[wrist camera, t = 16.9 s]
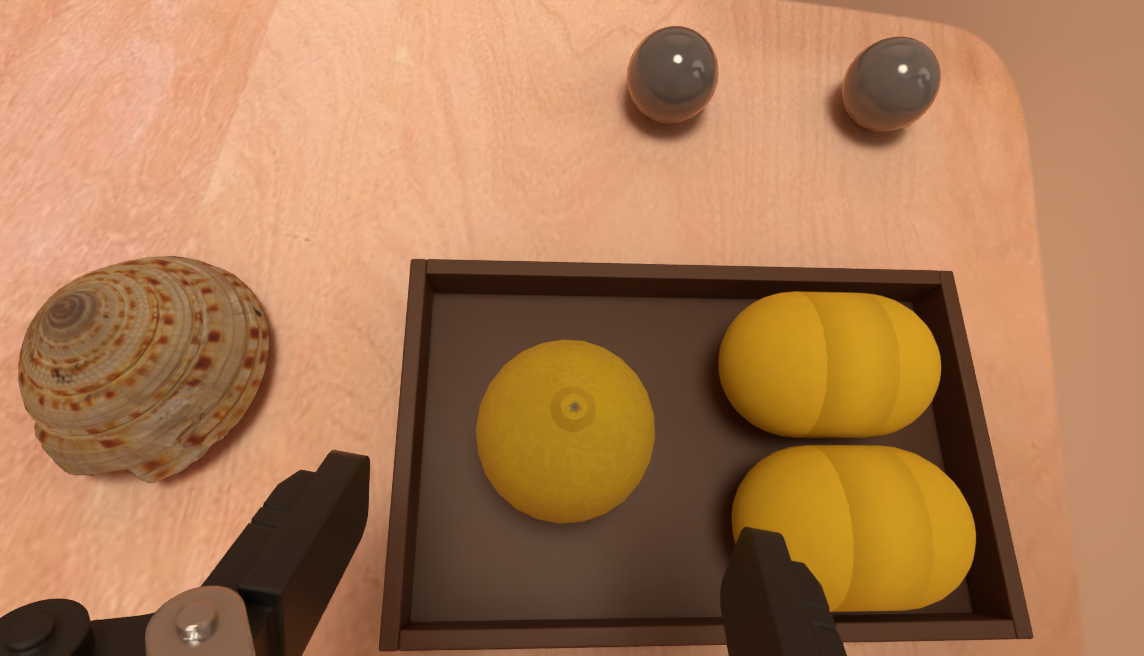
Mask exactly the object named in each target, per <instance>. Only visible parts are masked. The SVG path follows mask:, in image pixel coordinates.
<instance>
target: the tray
mask: <svg viewBox="0 0 1144 656" xmlns="http://www.w3.org/2000/svg"><path fill="white" fill-rule="evenodd" d="M785 292H841V293H866V294H874V295H879V296H883V297H886V298H889V299H892V300H895V301H897V302H899V303H900V304H902V305H904V306H905V307H907V308H908V309H910V310H912V311H913V312H914V313H915V314H916V315H917V316H918V317H919V318H920V319H921V320H922V321H923V322H924V323H925V324H926V325H927V327H928V328H929V330H930V331H931V333H932V335H933V337H934V339H935V342H936V344H937V346H938V349H939V353H940V359H941V376H940V381H939V385H938V388H937V391H936V393H935V395H934V398H933V400H932V402H931V403H930V405H929V406H928V407H927V409H926V410H925V411H924V412H923V413H922V414H921V415H920V416H919V417H918V418H917V419H916V420H915V421H914V422H912V423H910V424H909V425H907V426H906V427H904V428H902V429H900V430H898V431H896V432H893V433H890V434H887V435H884V436H877V437H868V438H792V437H783V436H779V435H776V434H772V433H769V432H766V431H764V430H762V429H760V428H758V427H756V426H754V425H753V424H751V423H750V422H748V421H747V420H746V419H745V418H744V417H743V416H742V415H740V414H739V413H738V412H737V411H736V409H735V408H734V407H733V405H732V404H731V403H730V401H729V400H728V398H727V396H726V394H725V391H724V389H723V387H722V384H721V381H720V376H719V350H720V346H721V342H722V340H723V338H724V335H725V333H726V331H727V329H728V327H729V326H730V325H731V323H732V322H733V321H734V319H735V318H736V317H737V315H738V314H740V313H741V312H742V311H743V310H744V309H746V308H747V307H748V306H749V305H751V304H752V303H754V302H756V301H758V300H760V299H762V298H764V297H767V296H771V295H774V294H778V293H785ZM558 340H576V341H585V342H588V343H591V344H594V345H597V346H600V347H603V348H605V349H607V350H608V351H610V352H611V353H613V354H615V355H616V356H618V357H620V358H621V359H622V360H623V361H624V362H625V363H626V364H627V365H628V366H629V367H630V368H631V369H632V370H633V371H634V372H635V373H636V374H637V376H638V378H639V379H640V381H641V383H642V384H643V386H644V388H645V389H646V391H647V393H648V397H649V400H650V403H651V407H652V410H653V413H654V426H655V441H654V446H653V450H652V455H651V460H650V463H649V465H648V467H647V469H646V471H645V473H644V475H643V477H642V479H641V481H640V483H639V484H638V485H637V487H636V488H635V489H634V490H633V491H632V492H631V494H630V495H629V496H628V497H627V498H626V499H625V501H623V502H622V503H620V504H619V505H618V506H616V507H615V508H613V509H612V510H610V511H609V512H607V513H606V514H604V515H601V516H598V517H595V518H593V519H590V520H587V521H584V522H575V523H562V524H558V523H553V522H548V521H543V520H538V519H535V518H533V517H531V516H529V515H527V514H525V513H523V512H521V511H519V510H517V509H515V508H514V507H513V506H512V505H511V504H510V503H509V502H507V501H506V500H505V499H504V498H503V497H502V496H500V495H499V494H498V492H497V491H496V489H495V488H494V486H493V485H492V484H491V482H490V481H489V479H488V478H487V476H486V475H485V472H484V469H483V466H482V463H481V460H480V457H479V454H478V448H477V437H476V425H477V419H478V413H479V407H480V404H481V402H482V399H483V397H484V395H485V393H486V391H487V388H488V386H489V384H490V383H491V381H492V380H493V379H494V378H495V376H496V375H497V374H498V373H499V371H500V370H501V369H502V367H503V366H504V365H505V364H507V363H508V362H509V361H511V360H512V359H513V358H514V357H516V356H517V355H518V354H520V353H521V352H522V351H525V350H527V349H529V348H532V347H534V346H536V345H539V344H541V343H546V342H552V341H558ZM805 445H879V446H889V447H895V448H899V449H902V450H905V451H908V452H912V453H915V454H917V455H919V456H920V457H922V458H924V459H926V460H928V461H929V462H931V463H933V464H934V465H936V466H937V467H938V468H939V469H940V470H942V471H943V472H944V473H945V474H946V475H947V476H948V477H949V478H950V479H951V480H952V481H953V482H954V483H955V484H956V486H957V487H958V488H959V489H960V491H961V493H962V495H963V496H964V498H965V500H966V502H967V504H968V506H969V508H970V510H971V513H972V516H973V520H974V523H975V531H976V545H975V552H974V558H973V561H972V564H971V567H970V569H969V571H968V573H967V574H966V576H965V577H964V579H963V580H962V582H961V583H960V585H959V586H958V587H957V588H956V589H955V590H954V591H953V592H951V593H950V594H949V595H947V596H946V597H945V598H944V599H942V600H940V601H937V602H935V603H933V604H930V605H927V606H925V607H922V608H919V609H911V610H903V611H849V612H831V613H832V616H833V618H834V621H835V624H836V631H837V632H839V635H840V638H841V640H842V643H843V642H894V641H946V640H997V639H1032V638H1033V633H1032V628H1031V624H1030V619H1029V615H1028V610H1027V605H1026V601H1025V596H1024V592H1023V587H1022V583H1021V578H1020V574H1019V569H1018V565H1017V560H1016V556H1015V551H1014V547H1013V542H1012V538H1011V533H1010V529H1009V524H1008V520H1007V515H1006V511H1005V506H1004V502H1003V497H1002V493H1001V488H1000V483H999V479H998V474H997V470H996V465H995V461H994V456H993V452H992V447H991V443H990V438H989V434H988V429H987V425H986V420H985V416H984V411H983V407H982V402H981V398H980V393H979V389H978V384H977V380H976V375H975V370H974V366H973V361H972V357H971V352H970V348H969V343H968V339H967V334H966V330H965V325H964V321H963V316H962V312H961V307H960V303H959V298H958V294H957V289H956V285H955V280H954V276H953V272H952V271H934V270H889V269H845V268H800V267H755V266H710V265H665V264H620V263H575V262H530V261H486V260H441V259H428V260H425V259H412V260H411V266H410V278H409V290H408V302H407V314H406V326H405V338H404V350H403V362H402V374H401V386H400V398H399V410H398V422H397V434H396V447H395V459H394V471H393V483H392V495H391V507H390V519H389V531H388V543H387V555H386V567H385V579H384V591H383V603H382V615H381V627H380V639H379V651H381V652H382V651H397V650H399V651H433V650H484V649H536V648H587V647H638V646H689V645H727V642H726V636H725V631H724V625H723V619H722V613H721V607H720V590H721V583H722V579H723V576H724V573H725V571H726V568H727V565H728V563H729V560H730V558H731V555H732V553H733V550H734V547H735V541H734V536H733V530H732V507H733V502H734V499H735V496H736V493H737V490H738V487H739V485H740V484H741V482H742V480H743V479H744V477H745V476H746V474H747V473H748V472H749V470H750V469H751V468H752V467H754V466H755V465H756V464H757V463H758V462H759V461H760V460H762V459H764V458H765V457H767V456H769V455H770V454H772V453H774V452H776V451H779V450H782V449H785V448H788V447H796V446H805Z"/></svg>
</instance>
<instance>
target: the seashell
mask: <svg viewBox="0 0 1144 656" xmlns="http://www.w3.org/2000/svg"><path fill="white" fill-rule="evenodd" d="M268 350H269V332H268V325H267V322H266V319H265V316H264V313H263V310H262V307H261V305H260V303H259V301H258V299H257V298H256V296H255V295H254V293H253V292H252V291H251V290H250V289H249V288H248V287H247V286H246V285H245V284H244V283H243V282H242V281H241V280H240V279H238V278H237V277H236V276H235V275H233V274H232V273H230V272H228V271H226V270H223V269H221V268H218V267H215V266H212V265H210V264H207V263H204V262H202V261H199V260H194V259H189V258H183V257H176V256H166V257H150V258H143V259H137V260H129V261H126V262H122V263H118V264H115V265H111V266H108V267H105V268H101V269H98V270H95V271H92V272H90V273H88V274H85V275H83V276H81V277H79V278H77V279H75V280H73V281H72V282H70V283H68V284H67V285H65V286H64V287H62V288H61V289H59V290H58V291H57V292H56V293H55V294H53V295H52V296H51V297H50V298H49V299H48V300H47V301H46V302H45V303H44V305H43V306H42V307H41V309H40V310H39V311H38V313H37V314H36V316H35V317H34V319H33V320H32V322H31V323H30V325H29V327H28V329H27V332H26V334H25V337H24V341H23V344H22V348H21V352H20V358H19V364H18V382H19V387H20V391H21V395H22V398H23V401H24V405H25V409H26V410H27V412H28V413H29V414H30V416H31V417H32V418H33V419H34V421H35V426H34V427H35V435H36V438H37V439H38V440H39V441H40V442H41V444H42V448H43V449H44V450H45V451H46V453H47V454H48V455H49V456H50V457H51V458H52V459H53V460H54V461H55V463H56V464H57V465H58V466H59V467H60V468H62V469H63V470H64V471H65V472H67V473H69V474H72V475H91V476H92V475H95V474H99V473H104V472H114V471H120V470H126V469H127V470H128V471H129V472H131V473H132V474H134V475H135V476H136V477H138V478H140V479H141V480H143V481H145V482H148V483H155V482H157V481H159V480H162V479H164V478H167V477H169V476H171V475H174V474H176V473H179V472H181V471H182V470H184V469H186V468H187V467H188V466H189V465H190V464H191V463H193V462H195V461H197V460H198V459H200V458H201V457H202V456H203V455H204V454H205V453H206V452H207V450H208V449H209V448H210V446H211V445H212V444H213V443H215V442H217V441H219V440H221V439H224V436H225V435H227V434H228V433H229V429H231V428H232V427H234V426H235V425H236V424H237V423H238V422H239V421H240V419H241V418H242V416H243V415H244V413H245V412H246V410H247V409H248V407H249V406H250V404H251V403H252V401H253V399H254V397H255V395H256V393H257V390H258V388H259V386H260V383H261V381H262V378H263V375H264V372H265V368H266V364H267V359H268ZM218 437H220V438H219V439H218Z"/></svg>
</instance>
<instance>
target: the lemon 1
mask: <svg viewBox="0 0 1144 656" xmlns="http://www.w3.org/2000/svg"><path fill="white" fill-rule="evenodd" d="M476 437H477V448H478V454H479V457H480V460H481V463H482V466H483V469H484V472H485V475H486V476H487V478H488V479H489V481H490V482H491V484H492V485H493V486H494V488H495V489H496V491H497V492H498V494H499V495H500V496H502V497H503V498H504V499H505V500H506V501H507V502H509V503H510V504H511V505H512V506H513V507H514V508H515V509H517V510H519V511H521V512H523V513H525V514H527V515H529V516H531V517H533V518H535V519H538V520H543V521H548V522H553V523H558V524H562V523H575V522H584V521H587V520H590V519H593V518H595V517H598V516H601V515H604V514H606V513H607V512H609V511H610V510H612V509H613V508H615V507H616V506H618V505H619V504H620V503H622V502H623V501H625V499H626V498H627V497H628V496H629V495H630V494H631V492H632V491H633V490H634V489H635V488H636V487H637V485H638V484H639V483H640V481H641V479H642V477H643V475H644V473H645V471H646V469H647V467H648V465H649V463H650V460H651V455H652V450H653V446H654V441H655V426H654V413H653V410H652V407H651V403H650V400H649V397H648V393H647V391H646V389H645V388H644V386H643V384H642V383H641V381H640V379H639V378H638V376H637V374H636V373H635V372H634V371H633V370H632V369H631V368H630V367H629V366H628V365H627V364H626V363H625V362H624V361H623V360H622V359H621V358H620V357H618V356H616V355H615V354H613V353H611V352H610V351H608V350H607V349H605V348H603V347H600V346H597V345H594V344H591V343H588V342H585V341H576V340H558V341H552V342H546V343H541V344H539V345H536V346H534V347H532V348H529V349H527V350H525V351H522V352H521V353H520V354H518V355H517V356H516V357H514V358H513V359H512V360H511V361H509V362H508V363H507V364H505V365H504V366H503V367H502V369H501V370H500V371H499V373H498V374H497V375H496V376H495V378H494V379H493V380H492V381H491V383H490V384H489V386H488V388H487V391H486V393H485V395H484V397H483V399H482V402H481V404H480V407H479V413H478V419H477V425H476Z"/></svg>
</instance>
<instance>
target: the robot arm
mask: <svg viewBox="0 0 1144 656" xmlns="http://www.w3.org/2000/svg"><path fill="white" fill-rule="evenodd" d="M369 479H370V459H369V457H368V456H365V455H359V454H354V453H348V452H343V451H337V450H332V451H331V452H330V453H329V454H328V455H327V457H326V458H325V459H324V461H323V462H322V464H321V465H320V467H319V468H318V470H317V471H316V472H311V471H305V470H299V471H298V472H296V473H295V474H293V475H292V476H290V477H289V478H287V479H286V480H284V481H283V482H281V483H279V484H278V485H277V487H276V488H275V489H274V490H273V492H272V493H271V494H270V496H269V497H268V498H267V500H266V501H265V502H264V505H263V507H261V508H260V509H259V510H258V512H257V513H256V514H255V516H254V517H253V518H252V521H251V523H249V524H248V525H247V526H246V528H245V529H244V530H243V532H242V533H241V534H240V536H239V537H238V538H237V539H236V541H235V542H234V543H233V545H232V546H231V547H230V549H229V550H228V551H227V553H226V554H225V555H224V557H223V558H222V559H221V561H220V562H219V563H218V565H217V566H216V567H215V569H214V570H213V571H212V573H211V574H210V575H209V577H208V578H207V579H206V581H205V582H204V583H203V584H202V585H201V586H200V587H198V588H194V589H191V590H188V591H185V592H183V593H181V594H179V595H177V596H175V597H173V598H172V599H170V600H168V601H167V602H166V603H165V604H163V605H162V606H161V607H160V608H159V609H158V610H157V611H156V612H155V613H151V614H146V615H140V616H131V617H122V618H112V619H103V620H93V621H90V617H89V614H88V611H87V610H86V608H85V607H84V606H83V605H81V604H80V603H78V602H76V601H73V600H68V599H47V600H42V601H37V602H34V603H30V604H27V605H25V606H22V607H20V608H17V609H15V610H13V611H11V612H9V613H8V614H6V615H4V616H3V617H1V618H0V656H302V654H303V652H304V650H305V648H306V646H307V645H308V643H309V641H310V639H311V637H312V635H313V633H314V631H315V629H316V627H317V625H318V623H319V621H320V619H321V617H322V615H323V613H324V611H325V609H326V607H327V605H328V603H329V601H330V599H331V597H332V595H333V594H334V592H335V590H336V588H337V586H338V584H339V582H340V580H341V578H342V576H343V574H344V572H345V570H346V568H347V566H348V564H349V562H350V560H351V558H352V556H353V554H354V552H355V550H356V548H357V546H358V545H359V543H360V540H361V538H362V536H363V533H364V530H365V526H366V522H367V517H368V509H369ZM720 607H721V613H722V619H723V625H724V631H725V636H726V642H727V648H728V654H729V656H847V654H846V651H845V649H844V646H843V643H842V640H841V638H840V635H839V632H837V631H836V624H835V621H834V618H833V616H832V613H831V612H829V608H830V607H829V605H828V602H827V599H826V596H825V594H824V591H823V588H822V585H821V584H820V582H819V581H818V580H817V579H816V577H815V576H814V575H813V574H812V572H811V571H810V570H809V568H808V567H807V566H806V565H805V563H802V562H797V561H791V557H790V554H789V551H788V548H787V545H786V542H785V539H784V537H783V535H782V534H781V533H779V532H773V531H768V530H762V529H757V528H752V527H744V528H743V529H742V530H741V532H740V535H739V537H738V540H737V542H736V545H735V547H734V550H733V553H732V555H731V558H730V560H729V563H728V565H727V568H726V571H725V573H724V576H723V579H722V583H721V590H720Z"/></svg>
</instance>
